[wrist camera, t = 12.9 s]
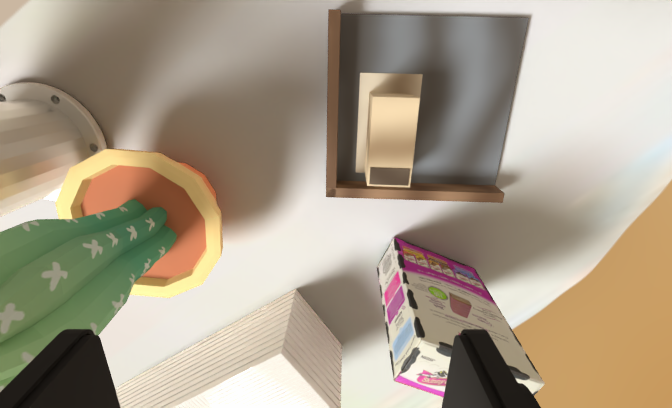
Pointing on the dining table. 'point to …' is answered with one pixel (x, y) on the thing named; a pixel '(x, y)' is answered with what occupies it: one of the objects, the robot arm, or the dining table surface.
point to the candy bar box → (439, 317)
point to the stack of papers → (249, 365)
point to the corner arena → (423, 99)
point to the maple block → (390, 139)
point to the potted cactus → (104, 249)
